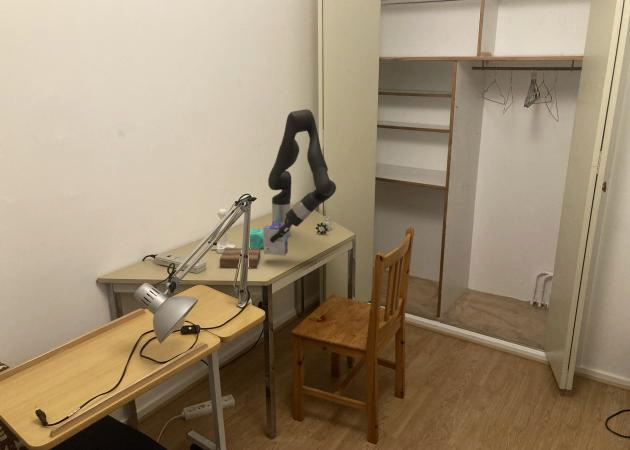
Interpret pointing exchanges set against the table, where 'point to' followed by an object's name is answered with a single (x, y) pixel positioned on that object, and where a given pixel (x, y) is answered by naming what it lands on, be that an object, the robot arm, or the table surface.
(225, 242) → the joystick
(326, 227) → the valve
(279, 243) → the ink cartridge box
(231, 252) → the walnut stand
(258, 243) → the decorative dice
